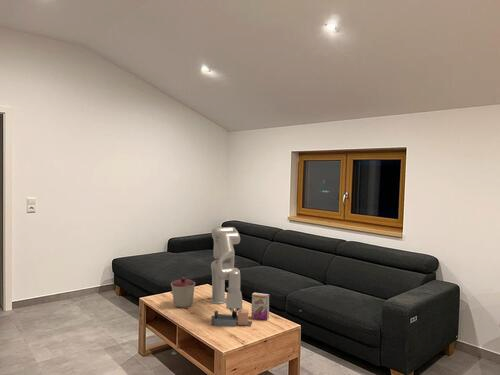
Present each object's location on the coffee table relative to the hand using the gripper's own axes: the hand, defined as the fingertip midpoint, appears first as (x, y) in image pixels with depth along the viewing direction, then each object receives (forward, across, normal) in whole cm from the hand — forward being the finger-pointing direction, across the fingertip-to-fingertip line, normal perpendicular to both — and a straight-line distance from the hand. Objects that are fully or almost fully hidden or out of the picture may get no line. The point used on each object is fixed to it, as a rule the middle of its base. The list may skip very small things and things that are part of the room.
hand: (234, 317), depth 254 cm
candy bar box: (+4, +16, +11) cm, 20 cm away
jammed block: (+4, +6, 0) cm, 7 cm away
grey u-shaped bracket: (+4, -6, 0) cm, 7 cm away
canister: (+4, -43, +28) cm, 52 cm away
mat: (+4, +7, 0) cm, 8 cm away
